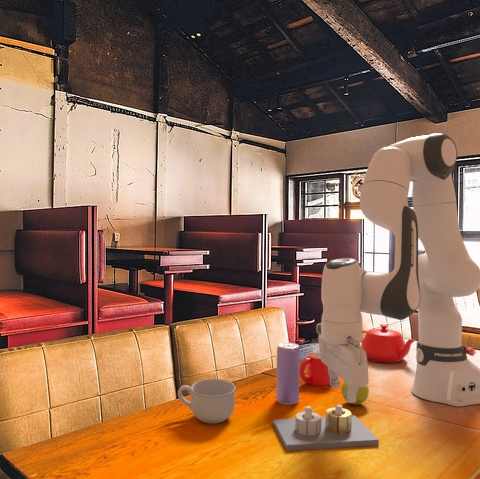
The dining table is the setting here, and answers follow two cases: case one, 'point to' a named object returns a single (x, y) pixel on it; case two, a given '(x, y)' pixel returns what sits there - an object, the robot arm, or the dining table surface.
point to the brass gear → (338, 421)
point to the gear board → (320, 432)
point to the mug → (315, 370)
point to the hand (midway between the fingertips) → (342, 393)
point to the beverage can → (287, 373)
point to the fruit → (360, 396)
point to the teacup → (210, 399)
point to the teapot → (385, 345)
